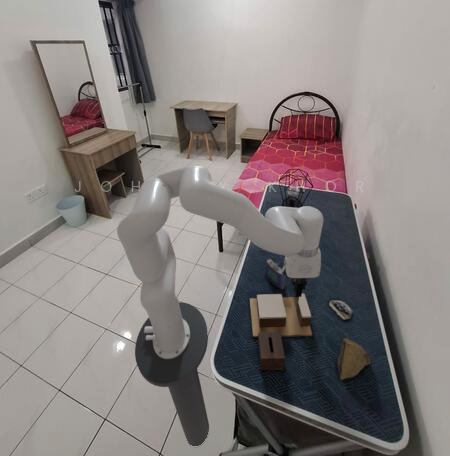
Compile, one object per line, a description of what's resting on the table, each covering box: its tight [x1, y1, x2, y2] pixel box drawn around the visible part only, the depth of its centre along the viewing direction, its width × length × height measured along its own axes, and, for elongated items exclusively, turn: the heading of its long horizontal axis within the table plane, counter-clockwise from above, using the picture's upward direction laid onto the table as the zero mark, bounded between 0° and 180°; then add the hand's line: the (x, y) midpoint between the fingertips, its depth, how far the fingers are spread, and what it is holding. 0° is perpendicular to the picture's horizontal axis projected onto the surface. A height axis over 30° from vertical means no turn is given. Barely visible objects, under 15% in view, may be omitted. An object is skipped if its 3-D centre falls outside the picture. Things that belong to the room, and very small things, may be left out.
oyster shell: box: [328, 299, 354, 320], centre depth 88 cm, size 7×8×2 cm
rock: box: [337, 338, 371, 381], centre depth 71 cm, size 11×9×10 cm
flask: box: [265, 258, 286, 290], centre depth 97 cm, size 9×3×11 cm, turn 38°
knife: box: [293, 278, 304, 310], centre depth 81 cm, size 2×3×14 cm, turn 0°
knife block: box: [257, 332, 286, 371], centre depth 75 cm, size 7×7×7 cm
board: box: [249, 296, 313, 338], centre depth 87 cm, size 20×13×1 cm, turn 90°
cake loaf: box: [256, 293, 286, 327], centre depth 85 cm, size 9×8×6 cm
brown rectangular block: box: [296, 293, 312, 327], centre depth 85 cm, size 3×8×6 cm, turn 0°
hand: (298, 285), depth 79 cm, fingers closed on knife, 2 cm apart
